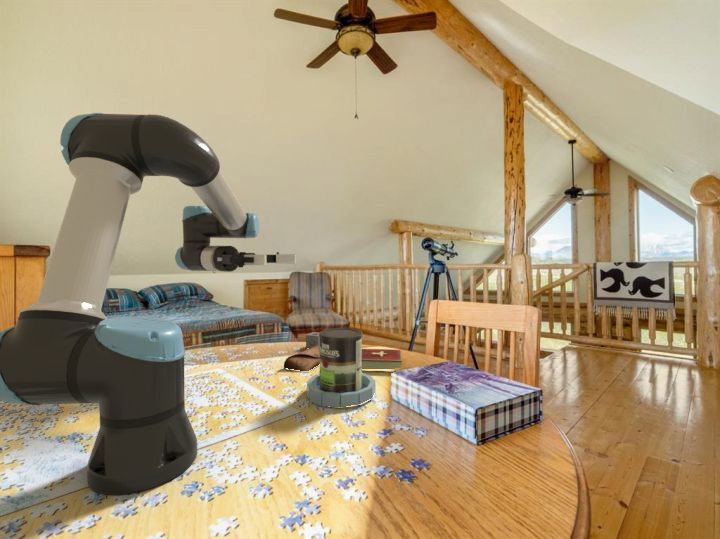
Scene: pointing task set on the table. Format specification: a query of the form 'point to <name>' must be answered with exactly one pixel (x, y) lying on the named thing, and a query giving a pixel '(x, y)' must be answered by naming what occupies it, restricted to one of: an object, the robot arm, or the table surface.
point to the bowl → (340, 398)
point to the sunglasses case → (304, 360)
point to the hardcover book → (381, 359)
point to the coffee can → (340, 360)
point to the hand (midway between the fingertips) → (281, 259)
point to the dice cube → (312, 340)
